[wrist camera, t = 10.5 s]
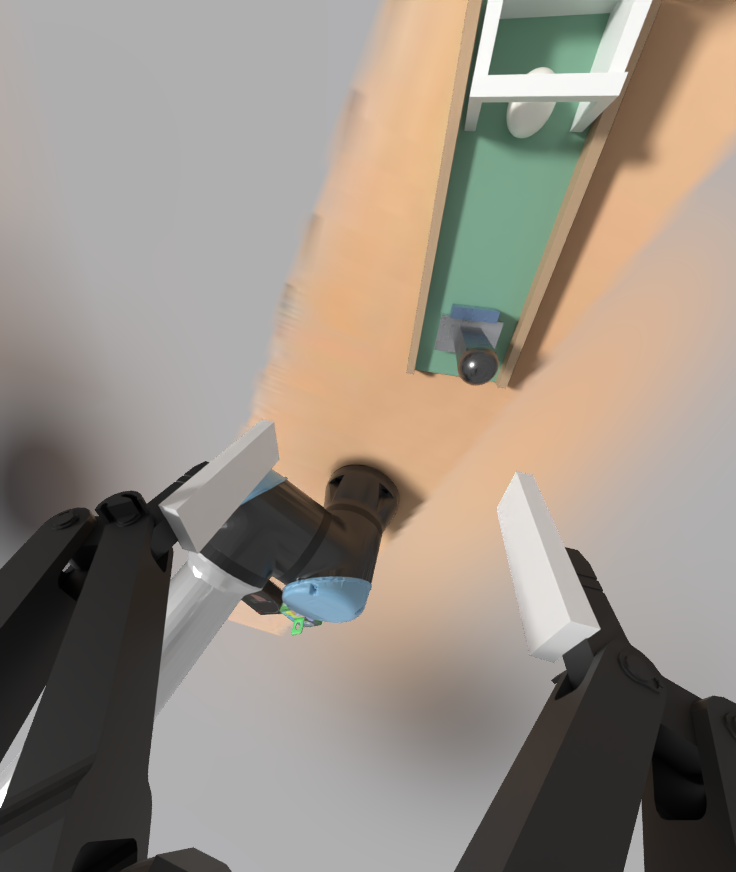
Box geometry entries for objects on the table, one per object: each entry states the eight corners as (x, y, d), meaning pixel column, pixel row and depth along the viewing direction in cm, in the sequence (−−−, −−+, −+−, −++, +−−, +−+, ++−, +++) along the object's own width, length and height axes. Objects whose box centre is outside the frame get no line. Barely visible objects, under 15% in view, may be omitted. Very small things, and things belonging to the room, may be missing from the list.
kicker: (489, 353, 33) (516, 402, 21) (434, 346, 34) (430, 388, 22) (504, 309, 30) (545, 335, 18) (443, 302, 31) (444, 323, 19)
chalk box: (315, 564, 75) (290, 621, 63) (336, 582, 77) (316, 640, 65) (296, 570, 80) (270, 624, 67) (317, 587, 82) (295, 642, 70)
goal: (581, 132, 22) (618, 95, 18) (464, 130, 24) (469, 96, 19) (634, -12, 19) (699, -108, 14) (489, -3, 20) (504, -86, 15)
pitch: (501, 380, 36) (505, 388, 33) (408, 366, 38) (406, 373, 35) (648, -2, 19) (679, -42, 17) (468, 9, 21) (472, -25, 19)
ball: (542, 128, 23) (543, 146, 22) (500, 128, 24) (498, 145, 22) (567, 59, 20) (570, 75, 19) (518, 61, 21) (517, 76, 19)
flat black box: (262, 573, 87) (255, 584, 84) (294, 601, 93) (289, 613, 89) (235, 578, 95) (227, 589, 91) (266, 603, 100) (260, 614, 97)
